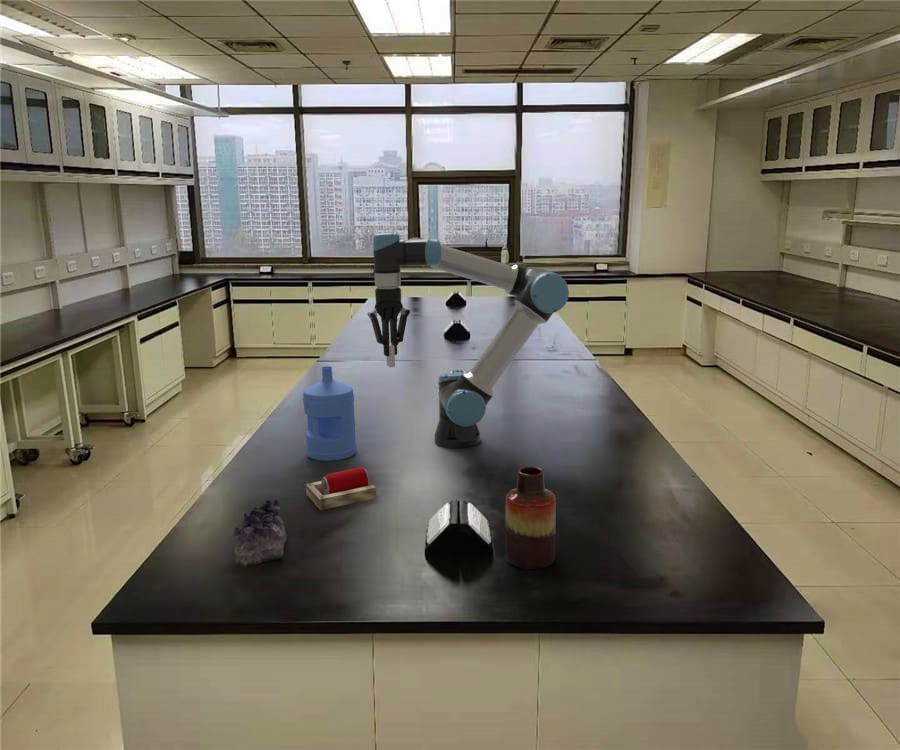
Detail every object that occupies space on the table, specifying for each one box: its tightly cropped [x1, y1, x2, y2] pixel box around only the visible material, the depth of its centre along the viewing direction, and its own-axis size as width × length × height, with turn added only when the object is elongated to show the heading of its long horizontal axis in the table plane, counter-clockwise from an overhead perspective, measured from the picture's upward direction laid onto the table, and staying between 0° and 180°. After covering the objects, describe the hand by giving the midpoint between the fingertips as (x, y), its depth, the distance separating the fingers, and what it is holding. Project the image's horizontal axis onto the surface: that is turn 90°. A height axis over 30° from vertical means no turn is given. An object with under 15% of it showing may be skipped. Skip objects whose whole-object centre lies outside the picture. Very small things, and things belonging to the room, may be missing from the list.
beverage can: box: [320, 466, 370, 495], centre depth 191 cm, size 6×6×12 cm
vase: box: [505, 466, 557, 570], centre depth 153 cm, size 11×11×20 cm
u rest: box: [305, 480, 377, 511], centre depth 190 cm, size 16×12×3 cm
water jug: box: [302, 365, 358, 462], centre depth 221 cm, size 16×16×28 cm
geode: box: [233, 499, 288, 568], centre depth 162 cm, size 20×12×10 cm, turn 8°
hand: (391, 366), depth 211 cm, fingers closed
